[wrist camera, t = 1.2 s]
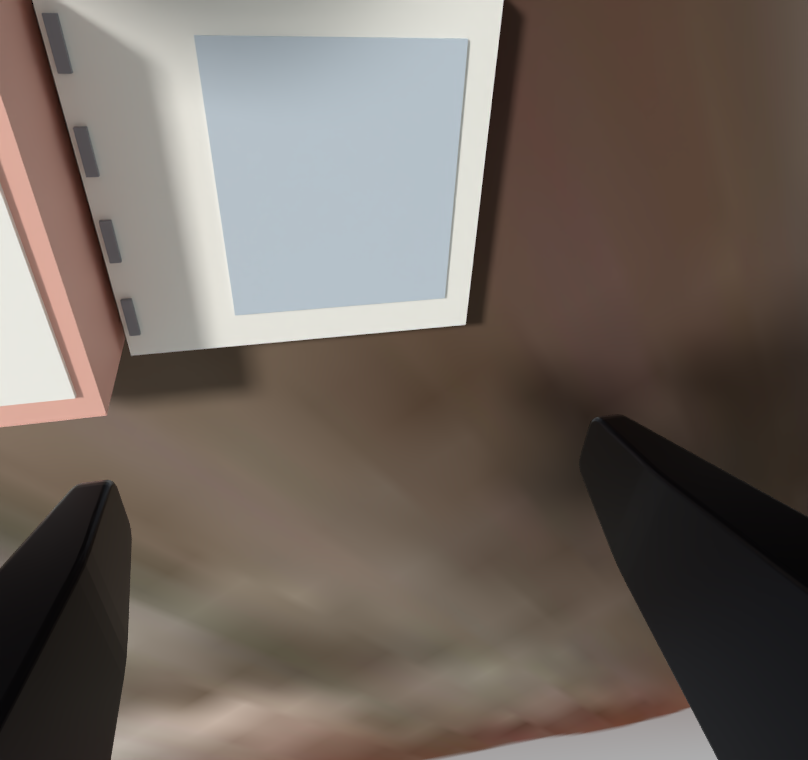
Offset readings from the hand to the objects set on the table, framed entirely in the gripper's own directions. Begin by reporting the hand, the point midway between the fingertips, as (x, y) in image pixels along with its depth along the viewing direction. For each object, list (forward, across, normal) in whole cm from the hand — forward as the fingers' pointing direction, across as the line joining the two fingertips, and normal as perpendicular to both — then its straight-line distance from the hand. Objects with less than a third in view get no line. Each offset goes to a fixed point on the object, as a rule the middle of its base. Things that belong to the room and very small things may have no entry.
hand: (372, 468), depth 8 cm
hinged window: (+12, 0, 0) cm, 13 cm away
